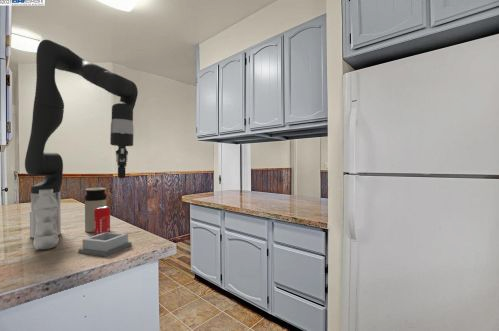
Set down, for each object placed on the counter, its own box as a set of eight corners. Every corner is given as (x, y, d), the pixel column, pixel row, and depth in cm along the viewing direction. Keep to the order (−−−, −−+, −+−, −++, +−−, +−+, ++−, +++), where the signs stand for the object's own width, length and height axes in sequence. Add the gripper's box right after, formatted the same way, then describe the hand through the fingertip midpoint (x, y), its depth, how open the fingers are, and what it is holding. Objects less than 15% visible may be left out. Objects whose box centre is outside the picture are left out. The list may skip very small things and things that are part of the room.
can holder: (78, 252, 82) (78, 239, 82) (106, 242, 93) (106, 231, 92) (105, 256, 79) (105, 242, 79) (131, 245, 89) (131, 233, 89)
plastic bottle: (37, 247, 88) (37, 189, 87) (61, 244, 90) (60, 188, 90) (30, 253, 82) (29, 191, 81) (55, 250, 84) (55, 190, 84)
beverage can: (103, 241, 94) (102, 208, 94) (91, 240, 95) (91, 208, 95) (113, 237, 99) (113, 206, 99) (101, 236, 101) (101, 206, 100)
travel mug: (102, 232, 107) (102, 189, 106) (81, 233, 105) (81, 189, 105) (109, 227, 114) (108, 187, 114) (89, 228, 113) (89, 187, 113)
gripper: (110, 133, 98) (109, 175, 98) (110, 130, 85) (109, 178, 85) (132, 135, 101) (131, 175, 101) (134, 132, 89) (134, 178, 89)
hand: (121, 176), depth 93 cm, fingers open, 8 cm apart
